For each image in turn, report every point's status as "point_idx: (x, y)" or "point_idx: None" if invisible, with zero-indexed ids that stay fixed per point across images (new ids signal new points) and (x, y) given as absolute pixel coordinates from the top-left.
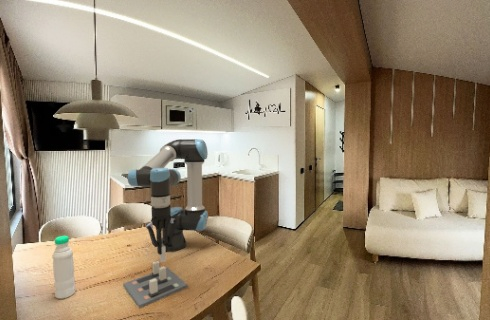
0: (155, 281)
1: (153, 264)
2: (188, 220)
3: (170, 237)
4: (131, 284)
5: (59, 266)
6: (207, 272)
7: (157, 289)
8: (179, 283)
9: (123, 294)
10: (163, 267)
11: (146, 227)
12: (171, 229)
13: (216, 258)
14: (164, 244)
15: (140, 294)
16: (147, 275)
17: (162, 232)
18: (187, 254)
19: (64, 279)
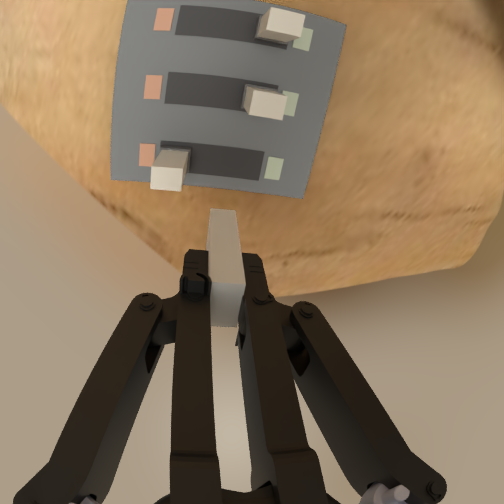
0: (172, 189)
1: (266, 22)
2: None
3: (299, 379)
4: (149, 21)
5: None
6: (405, 179)
7: (185, 173)
8: (290, 169)
9: (105, 53)
10: (276, 104)
11: (31, 500)
12: (330, 448)
13: (479, 144)
14: (239, 323)
15: (138, 119)
16: (240, 3)
17: (259, 405)
18: (460, 25)
19: None
